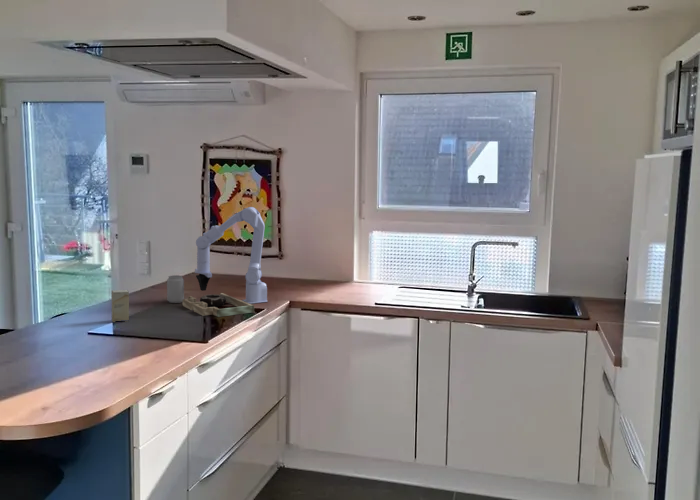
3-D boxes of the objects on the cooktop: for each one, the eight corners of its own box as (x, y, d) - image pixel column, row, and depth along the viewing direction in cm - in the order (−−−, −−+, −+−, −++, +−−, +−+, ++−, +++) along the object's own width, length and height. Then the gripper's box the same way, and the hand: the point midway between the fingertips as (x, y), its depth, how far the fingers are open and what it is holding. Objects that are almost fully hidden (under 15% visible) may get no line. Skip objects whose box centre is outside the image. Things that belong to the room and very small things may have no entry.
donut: (194, 305, 283) (194, 297, 282) (209, 301, 294) (209, 292, 293) (216, 308, 279) (216, 299, 278) (231, 303, 290) (231, 295, 289)
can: (179, 304, 285) (179, 277, 283) (164, 302, 286) (163, 276, 285) (186, 300, 292) (186, 275, 290) (171, 299, 293) (171, 274, 292)
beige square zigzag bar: (222, 299, 298) (222, 292, 297) (254, 312, 273) (254, 305, 273) (178, 303, 285) (178, 297, 284) (207, 318, 260) (207, 311, 260)
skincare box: (112, 322, 248) (112, 292, 247) (111, 320, 252) (110, 290, 251) (129, 321, 251) (129, 291, 250) (127, 318, 255) (127, 289, 254)
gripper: (189, 259, 296) (188, 288, 297) (201, 264, 284) (201, 293, 286) (203, 259, 300) (202, 287, 302) (216, 263, 288) (216, 292, 290)
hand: (203, 290), depth 294 cm, fingers closed
